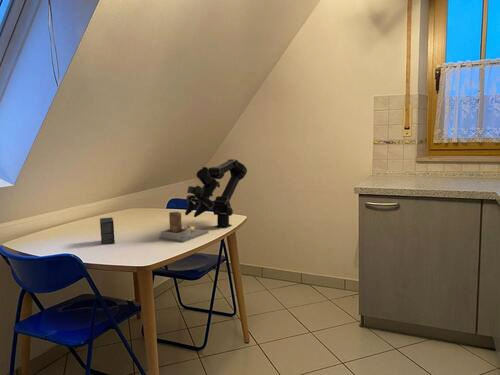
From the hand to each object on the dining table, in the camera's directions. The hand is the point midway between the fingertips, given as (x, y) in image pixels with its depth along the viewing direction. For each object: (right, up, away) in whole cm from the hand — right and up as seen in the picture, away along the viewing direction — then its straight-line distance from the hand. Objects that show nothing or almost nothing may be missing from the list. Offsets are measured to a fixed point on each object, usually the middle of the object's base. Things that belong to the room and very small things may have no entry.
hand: (190, 215), depth 197 cm
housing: (-3, -10, 0) cm, 10 cm away
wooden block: (-6, -9, -4) cm, 12 cm away
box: (-36, -11, -10) cm, 39 cm away
